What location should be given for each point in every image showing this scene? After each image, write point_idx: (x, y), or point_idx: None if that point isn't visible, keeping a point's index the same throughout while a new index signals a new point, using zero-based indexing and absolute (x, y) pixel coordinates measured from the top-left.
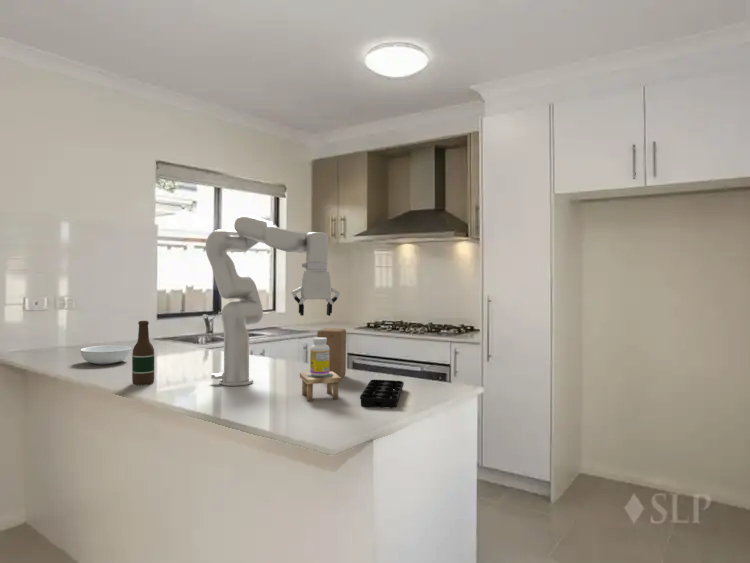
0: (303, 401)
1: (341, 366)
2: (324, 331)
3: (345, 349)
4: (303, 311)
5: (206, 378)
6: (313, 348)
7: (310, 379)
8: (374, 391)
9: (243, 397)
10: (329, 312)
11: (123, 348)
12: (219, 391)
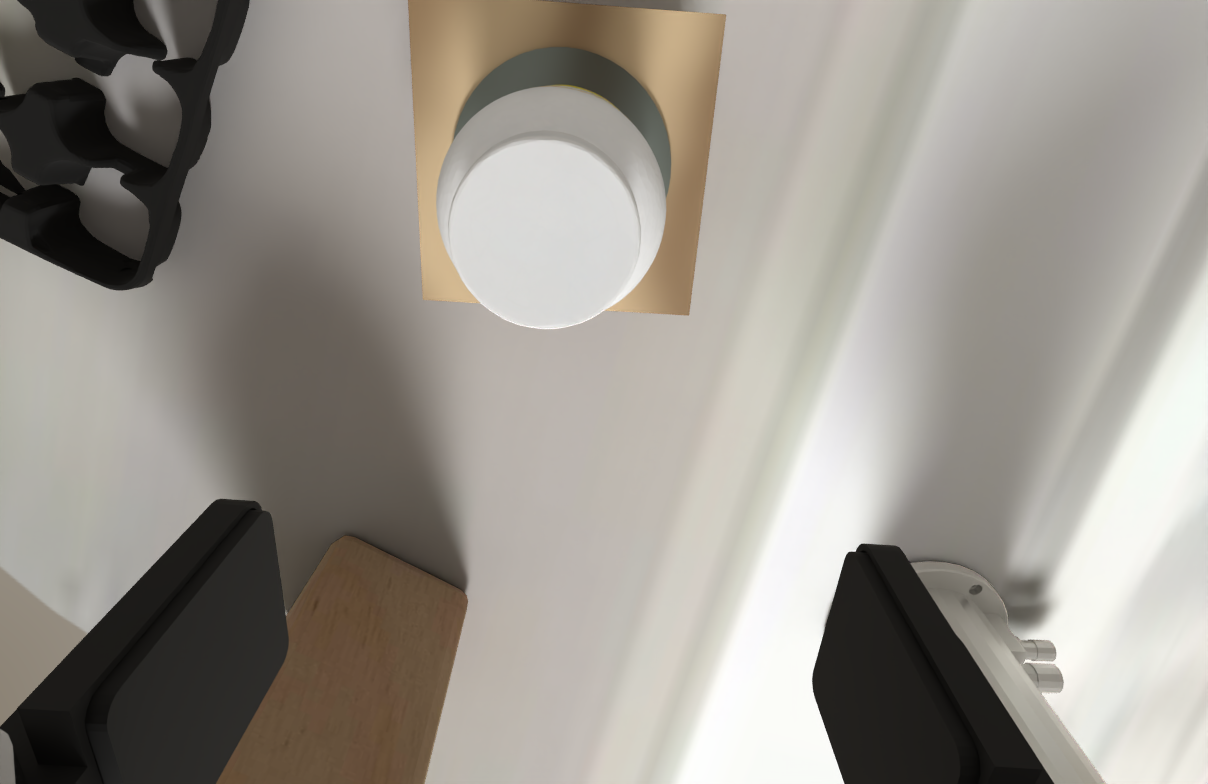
0: None
1: (296, 604)
2: None
3: None
4: (889, 605)
5: None
6: (652, 156)
7: (692, 15)
8: (161, 165)
9: (1011, 300)
10: (209, 538)
11: None
12: (1066, 479)
